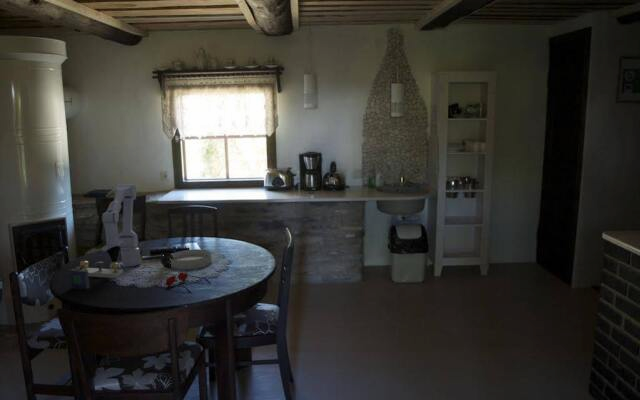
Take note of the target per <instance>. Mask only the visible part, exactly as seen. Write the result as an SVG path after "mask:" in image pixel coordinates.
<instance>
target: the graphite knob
mask: <svg viewBox="0 0 640 400" xmlns="http://www.w3.org/2000/svg"><path fill="white" fill-rule="evenodd" d="M94 266H95V267H94V268H99V270H101V269H104V267H105V263H104V261H100V260H99V261H96V262H94Z"/></svg>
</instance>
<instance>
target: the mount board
mask: <svg viewBox="0 0 640 400" xmlns="http://www.w3.org/2000/svg"><path fill="white" fill-rule="evenodd" d="M82 270H88V277H94V278H95V277H97V278H108V279H109V278H110V279H116V278H118V277H120V276H122V275H123V274H124V270H123V269H117V271H114V269H111V268H101V270H99V268H96V267H86V269H84V268H82ZM121 274H122V275H121ZM119 275H120V276H119ZM117 276H118V277H117ZM115 277H116V278H115Z"/></svg>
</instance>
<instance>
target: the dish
mask: <svg viewBox="0 0 640 400" xmlns="http://www.w3.org/2000/svg"><path fill="white" fill-rule="evenodd" d="M211 254H212V253H211V251H210V250H206V249H201V248H200V249H197V248H196V249H195V248H193V249H185V250H180V251H175V252H173V253H172V254H170V255H172V256H173V258H174V259H171V258H170V257H169V265H170V264H171V266H170V267H171V268H172V269H177V270H194V269H199V268H203V267H206V266H208V265H210V264H211V263H212V257H211ZM170 261H171V263H170Z"/></svg>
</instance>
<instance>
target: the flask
mask: <svg viewBox="0 0 640 400" xmlns="http://www.w3.org/2000/svg"><path fill="white" fill-rule="evenodd" d="M81 268H82V267H81V266H80V265H79V266H76V267H75V268H72V269H70V276H71V288H72V289H74V290H83V291H84V290H90V280H89V276H88V270H83V269H81Z"/></svg>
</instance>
